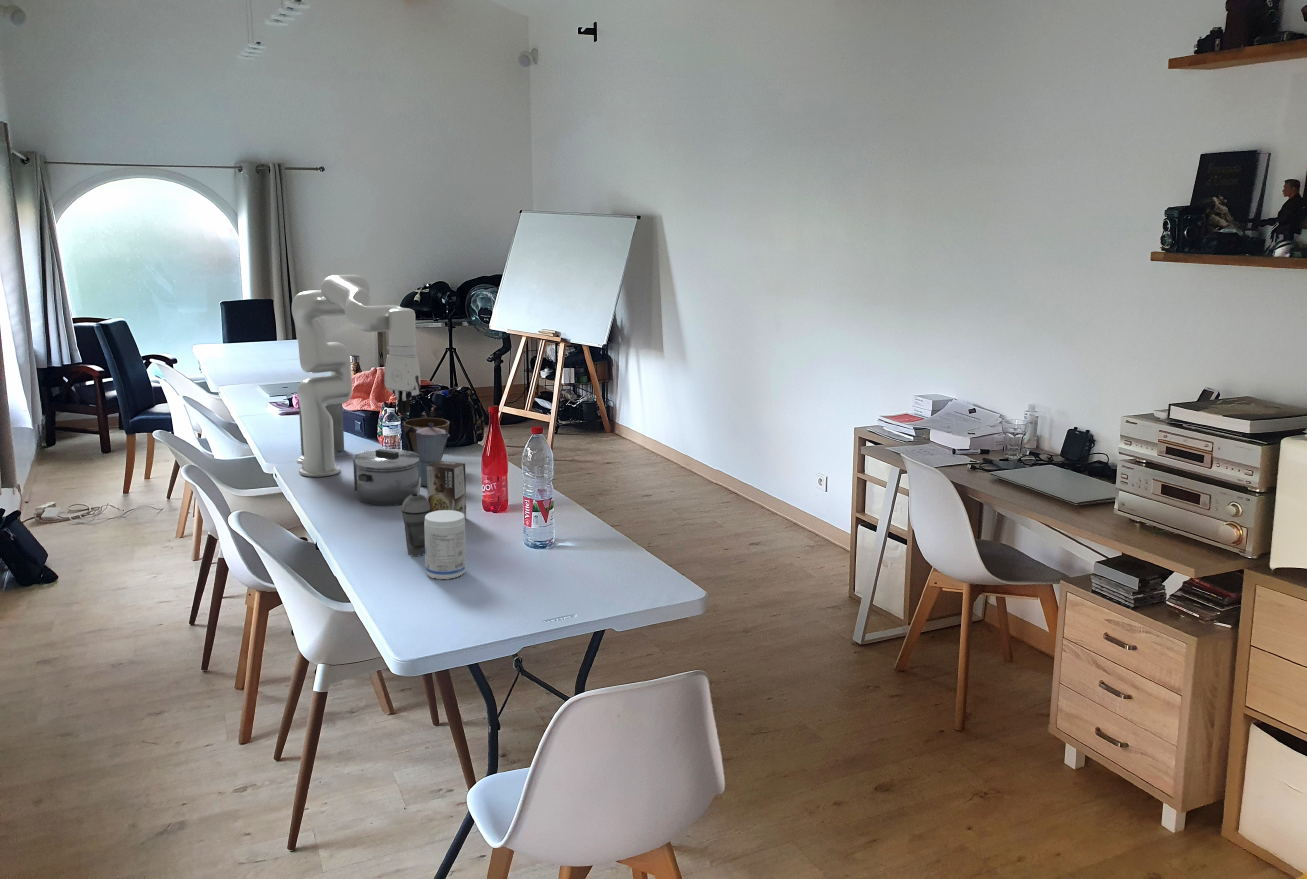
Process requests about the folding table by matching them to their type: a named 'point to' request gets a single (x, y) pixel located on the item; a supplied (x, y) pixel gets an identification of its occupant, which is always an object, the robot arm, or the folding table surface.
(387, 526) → the folding table surface
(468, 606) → the folding table surface
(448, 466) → the coffee box
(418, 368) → the robot arm
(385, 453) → the lid
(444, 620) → the folding table surface
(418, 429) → the moka pot
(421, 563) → the folding table surface
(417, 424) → the plant pot
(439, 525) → the supplement tub
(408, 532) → the beverage cup
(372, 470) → the cooking pot
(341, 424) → the grey upright box
